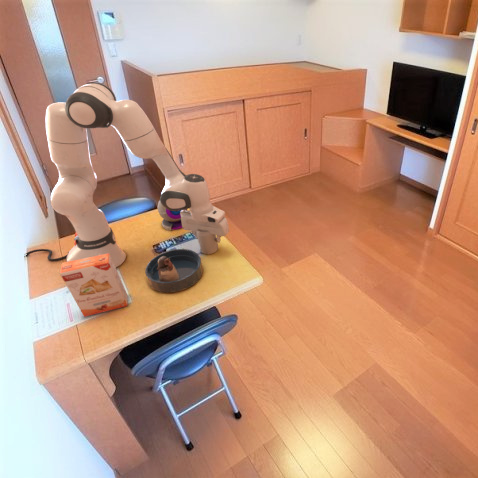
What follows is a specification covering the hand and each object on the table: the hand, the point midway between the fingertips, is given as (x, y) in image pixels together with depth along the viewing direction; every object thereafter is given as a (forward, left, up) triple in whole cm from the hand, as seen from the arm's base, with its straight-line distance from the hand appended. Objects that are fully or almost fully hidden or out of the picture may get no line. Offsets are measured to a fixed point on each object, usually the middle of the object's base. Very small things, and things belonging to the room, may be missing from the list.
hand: (208, 240), depth 150 cm
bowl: (-14, -13, -5) cm, 20 cm away
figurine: (-17, -16, -5) cm, 24 cm away
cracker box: (-38, -22, -6) cm, 45 cm away
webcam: (-13, +27, -6) cm, 31 cm away
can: (0, 0, -6) cm, 6 cm away
